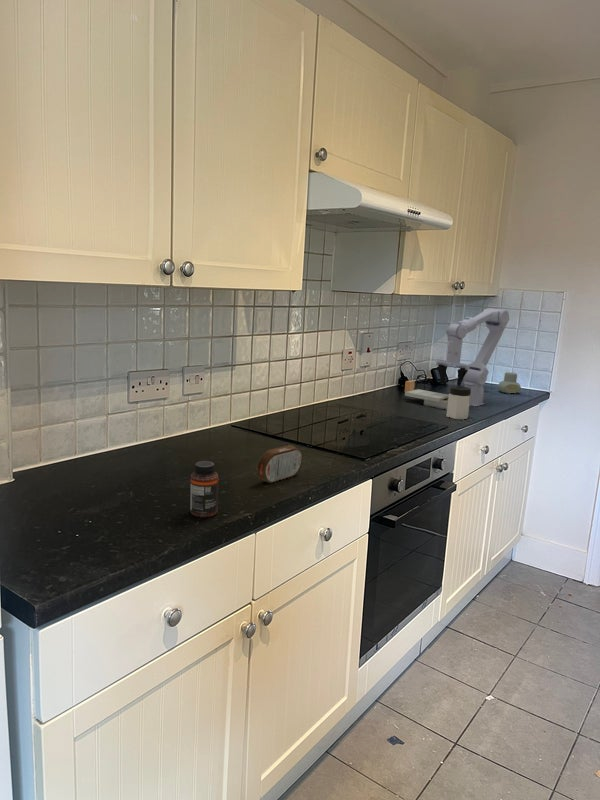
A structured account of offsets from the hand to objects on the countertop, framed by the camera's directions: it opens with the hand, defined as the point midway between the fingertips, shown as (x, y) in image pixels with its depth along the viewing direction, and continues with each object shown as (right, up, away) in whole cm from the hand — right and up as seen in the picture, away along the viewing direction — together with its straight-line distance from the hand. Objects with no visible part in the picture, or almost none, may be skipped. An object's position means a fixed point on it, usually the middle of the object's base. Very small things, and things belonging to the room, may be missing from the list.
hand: (450, 384), depth 259 cm
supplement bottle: (-86, -32, -127) cm, 157 cm away
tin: (-70, -28, -103) cm, 127 cm away
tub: (-2, -10, 0) cm, 10 cm away
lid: (-9, -5, +6) cm, 13 cm away
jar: (-2, -14, -18) cm, 22 cm away
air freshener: (+40, -3, +45) cm, 61 cm away
